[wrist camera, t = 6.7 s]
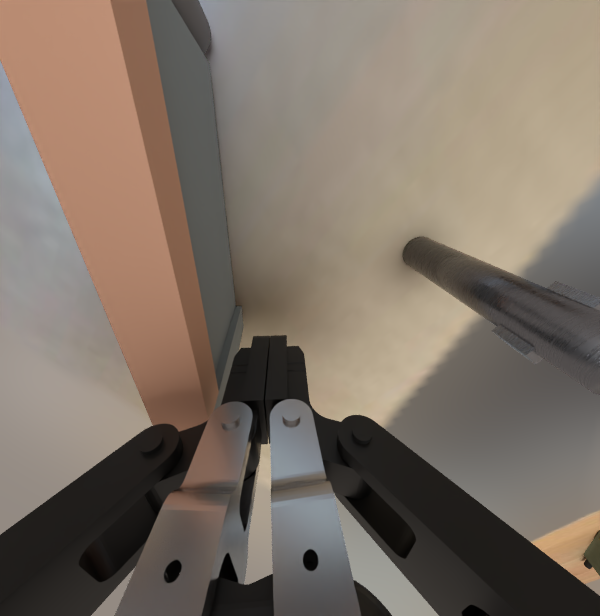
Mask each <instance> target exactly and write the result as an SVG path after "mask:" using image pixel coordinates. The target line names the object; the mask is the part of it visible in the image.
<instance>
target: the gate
mask: <svg viewBox="0 0 600 616" xmlns="http://www.w3.org/2000/svg"><path fill="white" fill-rule="evenodd" d="M210 41H211V32H210V26H209V23H208V21H207V19H206V16H205V14H204V12H203V10H202V7H201V5H200V3H199V1H198V0H0V60H1V63H2V65H3V68H4V70H5V72H6V75H7V77H8V80H9V82H10V84H11V87H12V89H13V91H14V94H15V96H16V99H17V101H18V103H19V106H20V108H21V111H22V113H23V115H24V118H25V120H26V123H27V125H28V127H29V130H30V132H31V135H32V137H33V139H34V142H35V144H36V147H37V149H38V151H39V154H40V156H41V159H42V161H43V163H44V166H45V168H46V171H47V173H48V175H49V178H50V180H51V183H52V185H53V187H54V190H55V192H56V195H57V197H58V199H59V202H60V204H61V206H62V209H63V211H64V214H65V216H66V218H67V221H68V223H69V226H70V228H71V230H72V233H73V235H74V238H75V240H76V242H77V245H78V247H79V250H80V252H81V254H82V257H83V259H84V262H85V264H86V266H87V269H88V271H89V274H90V276H91V278H92V281H93V283H94V286H95V288H96V290H97V293H98V295H99V298H100V300H101V302H102V305H103V307H104V310H105V312H106V314H107V317H108V319H109V321H110V324H111V326H112V329H113V331H114V333H115V336H116V338H117V341H118V343H119V345H120V348H121V350H122V353H123V355H124V357H125V360H126V362H127V365H128V367H129V369H130V372H131V374H132V377H133V379H134V381H135V384H136V386H137V389H138V391H139V393H140V396H141V398H142V401H143V403H144V405H145V408H146V410H147V413H148V415H149V417H150V420H151V422H152V425H153V426H154V425H157V424H171V425H173V426H175V427H176V428H177V429H178V432H180V431H183V430H186V429H189V428H192V427H195V426H197V425H200V424H202V423H204V422H206V421H207V420H208V419H209V417H210V415H211V414H212V413H213V412H214V410H215V409H217V408H218V407H219V406H221V403H222V399H223V396H224V392H225V388H226V385H227V381H228V378H229V374H230V370H231V367H232V363H233V360H234V356H235V355H236V354H237V353H238V350H239V346H240V341H241V336H242V332H243V316H242V306H236V303H235V294H234V284H233V275H232V266H231V257H230V248H229V239H228V229H227V220H226V211H225V202H224V193H223V184H222V174H221V165H220V156H219V147H218V138H217V129H216V119H215V110H214V101H213V92H212V83H211V74H210V65H209V62H208V60H207V59H206V57H205V55H204V53H205V52H206V51H207V50H208V48H209V45H210Z"/></svg>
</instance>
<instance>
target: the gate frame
mask: <svg viewBox="0 0 600 616" xmlns="http://www.w3.org/2000/svg"><path fill="white" fill-rule="evenodd" d="M403 259H404V261H405V263H406V264H407V265H409V266H410V267H412V268H413V269H415V270H416V271H417V272H419V273H420V274H422V275H423V276H425V277H426V278H428V279H429V280H430V281H432V282H433V283H435V284H436V285H438V286H439V287H441V288H442V289H443V290H445V291H446V292H448V293H449V294H451V295H452V296H454V297H455V298H457V299H458V300H459V301H461V302H462V303H464V304H465V305H467V306H468V307H470V308H471V309H472V310H474V311H475V312H477V313H478V314H480V315H481V316H483V317H484V318H485V319H487V320H488V321H490V322H491V323H493V324H494V325H496V326H497V327H496V328H495V329H493V330H492V331H493V332H494V333H495V334H496V335H497V336H498V337H499V338H500V339H501V340H503V341H504V342H505V343H507V344H508V345H510V346H511V347H512V348H514V349H515V350H516V351H518V352H519V353H520V354H522V355H523V356H525V357H526V358H527V359H529V360H530V361H531V362H533V363H534V364H537V363H538V362H540V361H541V360H543V359H545V360H546V361H548V362H549V363H551V364H552V365H554V366H555V367H556V368H558V369H559V370H561V371H562V372H564V373H565V374H567V375H568V376H569V377H571V378H572V379H574V380H575V381H577V382H578V383H580V384H581V385H582V386H584V387H585V388H587V389H588V390H590V391H591V392H593V393H595V394H598V395H600V298H599V297H596V296H594V295H591V294H588V293H586V292H583V291H580V290H578V289H575V288H573V287H570V286H567V285H565V284H562V283H560V282H557V281H555V282H554V283H553V284H552V285H550V286H549V287H548V288H545V287H542V286H540V285H538V284H535V283H533V282H530V281H528V280H526V279H524V278H521V277H519V276H516V275H514V274H512V273H509V272H507V271H505V270H502V269H500V268H498V267H495V266H493V265H490V264H488V263H486V262H483V261H481V260H479V259H476V258H474V257H472V256H469V255H467V254H464V253H462V252H460V251H457V250H455V249H453V248H450V247H448V246H445V245H443V244H441V243H438V242H436V241H434V240H431V239H429V238H426V237H417V238H415V239H413V240H411V241H410V242H409V243H408V244H407V245H406V247H405V249H404V252H403Z"/></svg>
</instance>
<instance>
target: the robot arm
mask: <svg viewBox="0 0 600 616" xmlns="http://www.w3.org/2000/svg"><path fill="white" fill-rule="evenodd" d="M268 437H269V444H270V448H271V521H272V561H273V574H271V575H269V576H267V577H265V578H263V579H260V580H258V581H256V582H254V583H252V584H249V585H244V581H245V574H246V568H247V558H248V537H249V529H250V522H251V516H252V509H253V503H254V497H255V491H256V484H257V478H258V472H259V460H260V450H261V444H268ZM334 493H335V495H336V497H337V498H338V499H339V501H340V502H341V503H342V504H343V505H344V506H345V507H346V509H347V510H348V511H349V512H350V513H351V514H352V516H353V517H354V518H355V519H356V520H357V521H358V522H359V524H360V525H361V526H362V527H363V528H364V529H365V530H366V532H367V533H368V534H369V535H370V536H371V537H372V539H373V540H374V541H375V542H376V543H377V544H378V546H379V547H380V548H381V549H382V550H383V551H384V552H385V554H386V555H387V556H388V557H389V558H390V559H391V561H392V562H393V563H394V564H395V565H396V566H397V568H398V569H399V570H400V571H401V572H402V573H403V574H404V576H405V577H406V578H407V579H408V580H409V581H410V583H411V584H412V585H413V586H414V587H415V588H416V589H417V591H418V592H419V593H420V594H421V595H422V596H423V598H424V599H425V600H426V601H427V602H428V603H429V604H430V606H431V607H432V608H433V609H434V610H435V611H436V613H437V614H438V615H439V616H600V596H599V595H598V594H596V593H595V592H594V591H592V590H591V589H590V588H589V587H587V586H586V585H585V584H584V583H582V582H581V581H580V580H578V579H577V578H576V577H575V576H573V575H572V574H571V573H569V572H568V571H567V570H566V569H564V568H563V567H562V566H560V565H559V564H558V563H556V562H555V561H554V560H553V559H551V558H550V557H549V556H547V555H546V554H545V553H544V552H542V551H541V550H540V549H538V548H537V547H536V546H535V545H533V544H532V543H531V542H529V541H528V540H527V539H526V538H524V537H523V536H522V535H520V534H519V533H518V532H516V531H515V530H514V529H513V528H511V527H510V526H509V525H507V524H506V523H505V522H504V521H502V520H501V519H500V518H498V517H497V516H496V515H494V514H493V513H492V512H491V511H489V510H488V509H487V508H486V507H484V506H483V505H482V504H480V503H479V502H478V501H477V500H475V499H474V498H472V497H471V496H470V495H469V494H467V493H466V492H465V491H464V490H462V489H461V488H460V487H458V486H457V485H456V484H455V483H453V482H452V481H451V480H449V479H448V478H447V477H445V476H444V475H443V474H442V473H440V472H439V471H438V470H437V469H435V468H434V467H433V466H431V465H430V464H429V463H427V462H426V461H425V460H424V459H422V458H421V457H420V456H418V455H417V454H416V453H414V452H413V451H412V450H411V449H409V448H408V447H407V446H405V445H404V444H403V443H402V442H400V441H399V440H398V439H397V438H395V437H394V436H392V435H391V434H390V433H389V432H388V431H386V430H385V429H384V428H382V427H381V426H380V425H378V424H377V423H376V422H375V421H373V420H372V419H370V418H368V417H365V416H361V415H352V416H349V417H346V418H345V419H344V420H343V421H342V422H339V421H335V420H331V419H327V418H325V417H323V416H321V415H319V414H318V413H317V412H316V411H315V410H314V409H313V408H312V406H311V404H310V401H309V394H308V385H307V376H306V367H305V359H304V353H303V352H302V350H301V349H300V348H299V346H287V337H286V335H282V336H254V337H253V340H252V346H251V348H241V349H240V350H239V351H238V353H237V354H236V355H235V356H234V360H233V363H232V367H231V370H230V374H229V378H228V381H227V385H226V388H225V392H224V396H223V399H222V403H221V406H219V407H218V408H217V409H215V410H214V412H213V413H212V414H211V415H210V417H209V419H208V420H207V421H206V422H204V423H202V424H200V425H197V426H195V427H192V428H189V429H186V430H183V431H180V432H178V429H177V428H176V427H175V426H173V425H171V424H157V425H154V426H151V427H149V428H147V429H145V430H144V431H142V432H141V433H139V434H138V435H137V436H135V437H134V438H132V439H131V440H130V441H128V442H127V443H126V444H124V445H123V446H122V447H120V448H119V449H118V450H116V451H115V452H113V453H112V454H110V455H109V456H108V457H106V458H105V459H104V460H102V461H101V462H99V463H98V464H97V465H95V466H94V467H93V468H91V469H90V470H89V471H87V472H86V473H84V474H83V475H82V476H80V477H79V478H78V479H76V480H75V481H73V482H72V483H71V484H69V485H68V486H67V487H65V488H64V489H62V490H61V491H60V492H58V493H57V494H56V495H54V496H53V497H51V498H50V499H49V500H47V501H46V502H45V503H43V504H42V505H40V506H39V507H38V508H36V509H35V510H34V511H33V512H31V513H30V514H28V515H27V516H25V517H24V518H23V519H21V520H20V521H19V522H17V523H16V524H14V525H13V526H12V527H10V528H9V529H8V530H6V531H5V532H4V533H2V534H1V535H0V616H91V615H92V614H93V613H94V612H95V610H96V609H97V608H98V607H99V606H100V605H101V604H102V602H104V601H105V599H106V598H107V597H108V596H109V595H110V594H111V593H112V592H113V591H114V589H115V588H116V587H117V586H118V585H119V584H120V583H121V582H122V581H123V580H124V579H125V577H126V576H127V575H128V574H129V573H130V572H131V571H132V570H133V569H134V568H135V570H134V572H133V574H132V577H131V579H130V581H129V584H128V586H127V588H126V590H125V592H124V595H123V597H122V599H121V602H120V604H119V606H118V609H117V611H116V613H115V615H114V616H392V615H391V614H390V612H389V611H388V610H387V609H386V607H385V606H384V605H383V604H382V603H381V602H380V601H379V600H378V599H377V597H375V596H374V595H373V594H372V593H371V592H370V591H369V590H368V589H366V588H365V587H364V586H362V585H361V584H359V583H358V582H356V581H354V580H353V577H352V572H351V568H350V563H349V559H348V554H347V550H346V546H345V541H344V537H343V532H342V528H341V524H340V519H339V514H338V510H337V506H336V501H335V497H334ZM135 566H136V567H135Z"/></svg>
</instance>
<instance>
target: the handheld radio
mask: <svg viewBox="0 0 600 616" xmlns="http://www.w3.org/2000/svg"><path fill="white" fill-rule="evenodd" d="M584 556H585V557H586V561H585V562H584V565H585V566H586V567H587V568H588V569H591V568H592V566H593V568H594V569H595V570H596V572H597V573H598V574H599V575H600V531H599V532H598V534H597V535H596V537H595V538H594V540H593V541H592V543H591V544H590V546H589V547H588V548H587V550H586V551H585V553H584Z"/></svg>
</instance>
